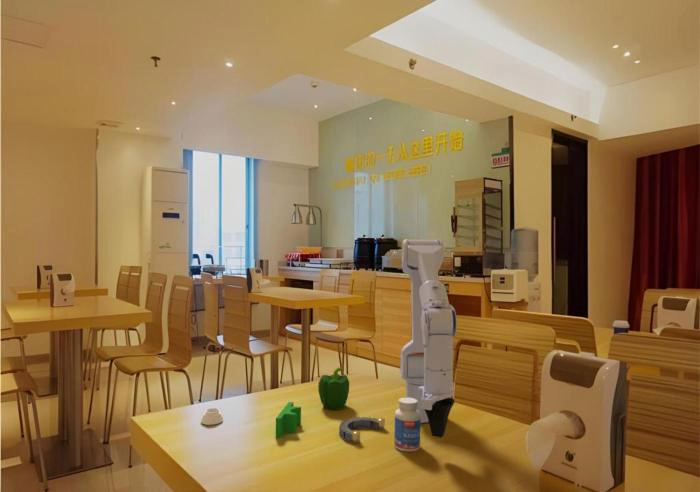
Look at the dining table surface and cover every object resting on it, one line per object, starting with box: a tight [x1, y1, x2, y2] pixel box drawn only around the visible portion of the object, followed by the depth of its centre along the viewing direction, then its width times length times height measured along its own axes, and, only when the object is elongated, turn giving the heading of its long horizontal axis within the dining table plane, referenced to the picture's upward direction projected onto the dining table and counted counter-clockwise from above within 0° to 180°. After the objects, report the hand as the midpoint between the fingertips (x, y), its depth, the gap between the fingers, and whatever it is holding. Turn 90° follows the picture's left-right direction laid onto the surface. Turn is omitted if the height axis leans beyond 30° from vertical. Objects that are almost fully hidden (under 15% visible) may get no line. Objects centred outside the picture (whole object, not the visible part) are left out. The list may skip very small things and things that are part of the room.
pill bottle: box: [393, 397, 422, 453], centre depth 97 cm, size 6×5×10 cm
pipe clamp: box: [275, 401, 302, 439], centre depth 106 cm, size 11×4×5 cm, turn 173°
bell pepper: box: [317, 366, 350, 410], centre depth 122 cm, size 8×8×10 cm
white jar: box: [200, 407, 224, 426], centre depth 110 cm, size 5×3×5 cm
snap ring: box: [338, 416, 386, 445], centre depth 105 cm, size 8×12×2 cm, turn 143°
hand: (437, 435), depth 93 cm, fingers closed
